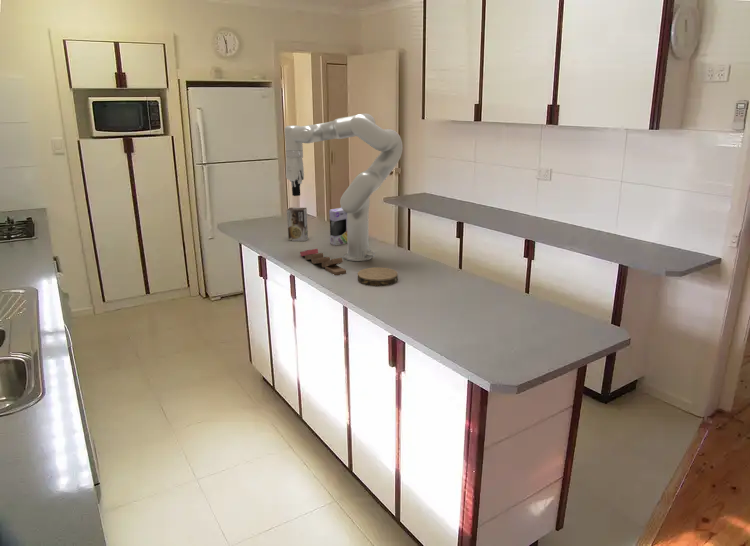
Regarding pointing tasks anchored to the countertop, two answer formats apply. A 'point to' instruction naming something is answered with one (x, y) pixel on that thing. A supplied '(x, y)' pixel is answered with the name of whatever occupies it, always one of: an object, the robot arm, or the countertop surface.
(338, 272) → the domino
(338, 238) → the cake pan box
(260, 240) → the countertop surface
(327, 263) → the domino
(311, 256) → the domino
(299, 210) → the coffee box
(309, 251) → the maroon domino
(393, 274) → the wooden log slice
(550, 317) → the countertop surface
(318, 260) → the domino
